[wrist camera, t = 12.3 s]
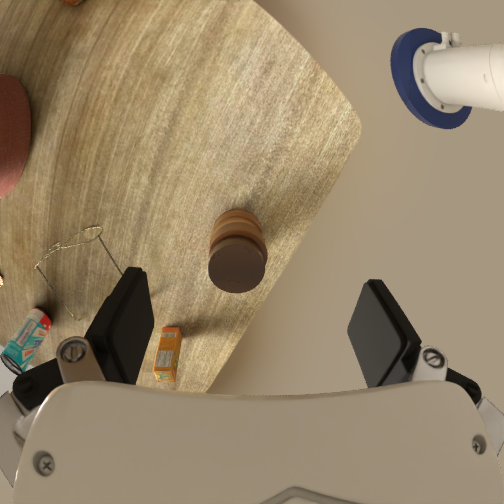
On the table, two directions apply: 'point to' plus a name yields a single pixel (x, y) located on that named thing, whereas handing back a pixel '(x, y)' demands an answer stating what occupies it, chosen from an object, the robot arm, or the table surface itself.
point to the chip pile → (238, 229)
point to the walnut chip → (236, 264)
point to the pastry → (71, 2)
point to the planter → (13, 132)
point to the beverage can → (26, 341)
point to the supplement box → (167, 354)
